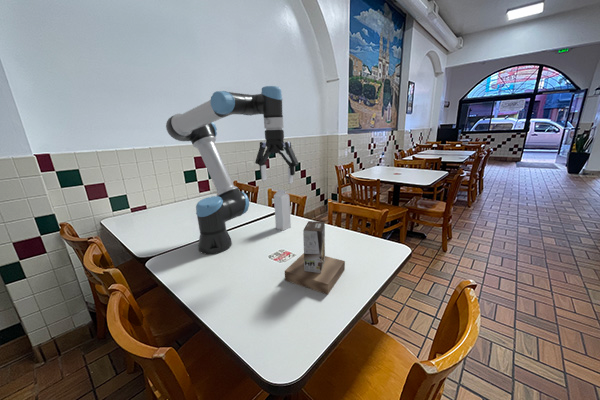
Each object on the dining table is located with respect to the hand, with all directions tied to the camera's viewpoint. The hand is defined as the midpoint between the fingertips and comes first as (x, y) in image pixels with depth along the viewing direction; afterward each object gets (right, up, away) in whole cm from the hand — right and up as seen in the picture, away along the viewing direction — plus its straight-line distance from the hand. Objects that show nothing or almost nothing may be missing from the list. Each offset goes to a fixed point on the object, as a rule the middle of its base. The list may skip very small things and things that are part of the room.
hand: (277, 181), depth 102 cm
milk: (0, -23, +33) cm, 40 cm away
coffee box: (+15, -32, -12) cm, 38 cm away
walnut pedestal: (+15, -36, -11) cm, 41 cm away
